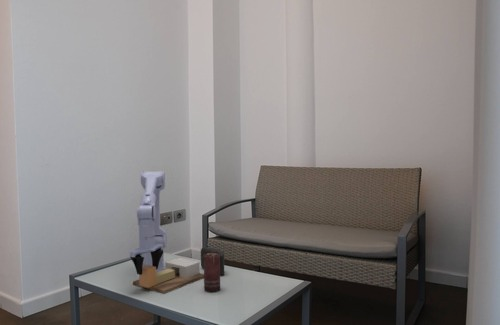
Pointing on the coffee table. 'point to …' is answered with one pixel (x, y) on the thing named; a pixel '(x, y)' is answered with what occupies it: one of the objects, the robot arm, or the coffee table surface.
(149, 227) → the robot arm
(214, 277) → the can
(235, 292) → the coffee table surface
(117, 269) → the coffee table surface
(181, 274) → the block
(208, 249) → the leaning round-cornered charcoal block
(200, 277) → the walnut board
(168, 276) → the tan wooden l-shaped block
